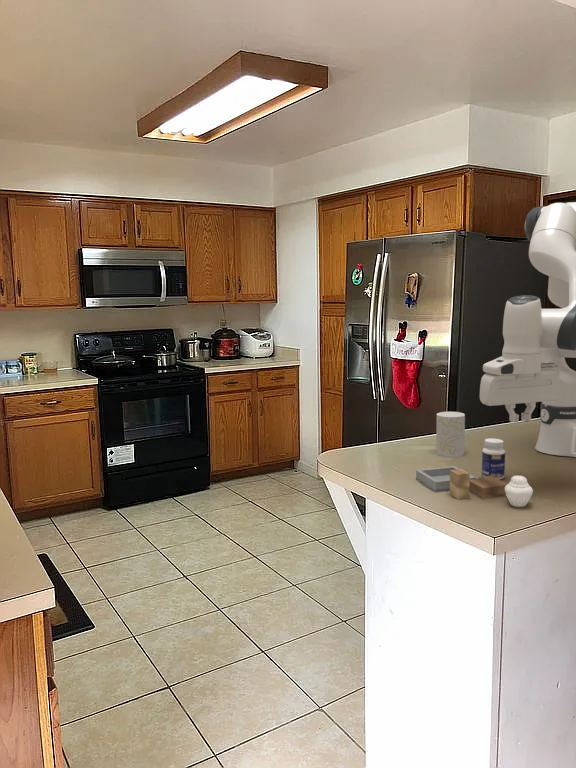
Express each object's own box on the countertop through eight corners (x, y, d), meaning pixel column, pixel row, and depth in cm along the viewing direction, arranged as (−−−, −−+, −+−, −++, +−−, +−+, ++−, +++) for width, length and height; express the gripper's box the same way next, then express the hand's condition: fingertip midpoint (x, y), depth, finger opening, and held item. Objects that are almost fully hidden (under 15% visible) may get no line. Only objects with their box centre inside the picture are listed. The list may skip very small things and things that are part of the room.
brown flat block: (491, 488, 161) (492, 476, 161) (508, 496, 155) (508, 484, 154) (466, 491, 160) (467, 479, 159) (482, 500, 153) (482, 488, 152)
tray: (454, 475, 172) (454, 466, 171) (475, 487, 161) (475, 477, 161) (416, 479, 169) (416, 470, 169) (435, 491, 159) (435, 482, 158)
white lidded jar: (498, 503, 149) (499, 474, 148) (516, 498, 152) (516, 469, 151) (520, 511, 144) (521, 481, 143) (538, 505, 147) (539, 476, 146)
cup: (434, 456, 191) (434, 416, 189) (438, 449, 198) (438, 411, 197) (462, 458, 188) (463, 417, 186) (465, 451, 195) (466, 412, 194)
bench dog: (460, 492, 158) (461, 468, 157) (469, 497, 154) (469, 473, 153) (449, 493, 157) (449, 470, 156) (457, 499, 153) (458, 474, 152)
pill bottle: (493, 481, 165) (493, 444, 164) (477, 476, 170) (477, 439, 169) (509, 478, 168) (510, 440, 166) (493, 472, 173) (493, 436, 171)
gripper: (551, 360, 160) (549, 415, 162) (476, 365, 155) (475, 421, 157) (567, 363, 154) (565, 420, 156) (490, 368, 149) (489, 427, 151)
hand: (520, 421), depth 156 cm, fingers closed
